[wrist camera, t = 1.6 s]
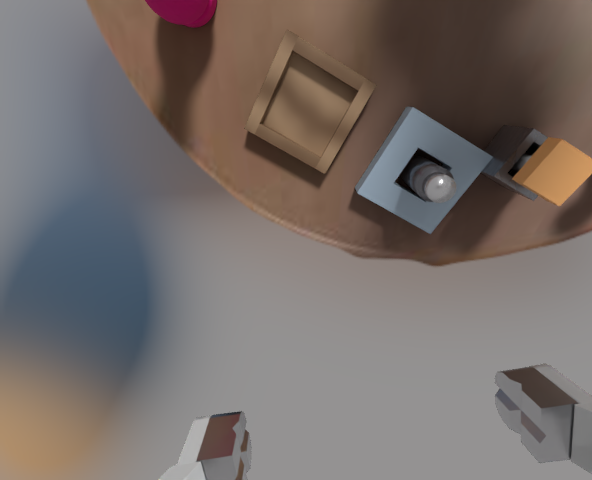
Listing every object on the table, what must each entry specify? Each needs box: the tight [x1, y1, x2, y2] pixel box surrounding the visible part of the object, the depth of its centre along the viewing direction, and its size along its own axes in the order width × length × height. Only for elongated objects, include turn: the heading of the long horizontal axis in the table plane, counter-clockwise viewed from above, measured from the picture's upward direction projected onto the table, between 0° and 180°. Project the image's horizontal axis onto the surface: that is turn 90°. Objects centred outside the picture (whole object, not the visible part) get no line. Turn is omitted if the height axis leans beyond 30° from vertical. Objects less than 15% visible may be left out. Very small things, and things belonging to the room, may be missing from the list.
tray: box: [244, 30, 376, 174], centre depth 38 cm, size 12×12×2 cm
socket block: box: [355, 107, 493, 234], centre depth 40 cm, size 12×12×3 cm
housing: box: [481, 125, 548, 201], centre depth 37 cm, size 6×6×6 cm
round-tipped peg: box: [401, 156, 457, 203], centre depth 37 cm, size 4×4×10 cm
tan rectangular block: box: [512, 137, 592, 206], centre depth 34 cm, size 5×5×7 cm
